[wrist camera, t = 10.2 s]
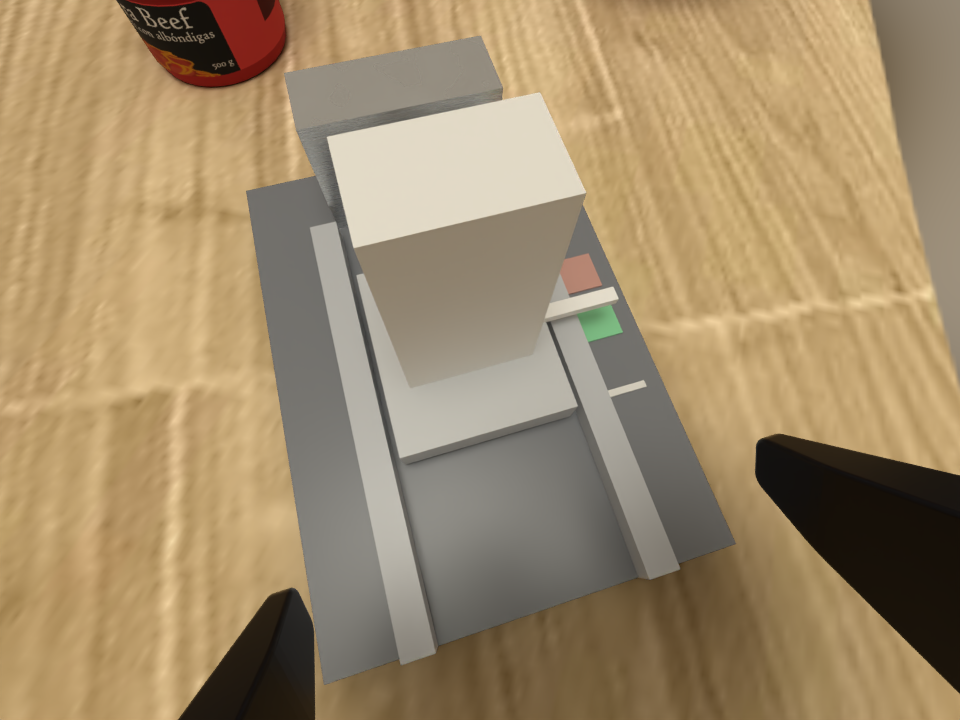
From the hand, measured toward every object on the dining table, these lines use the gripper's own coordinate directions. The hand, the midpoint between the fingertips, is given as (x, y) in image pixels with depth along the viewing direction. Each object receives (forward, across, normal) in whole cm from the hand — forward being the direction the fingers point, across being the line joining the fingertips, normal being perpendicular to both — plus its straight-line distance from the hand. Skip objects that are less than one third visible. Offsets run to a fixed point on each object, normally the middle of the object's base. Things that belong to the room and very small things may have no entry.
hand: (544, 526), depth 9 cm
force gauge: (+13, -2, +1) cm, 13 cm away
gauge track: (+14, -1, +2) cm, 14 cm away
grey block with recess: (+19, -1, -6) cm, 20 cm away
